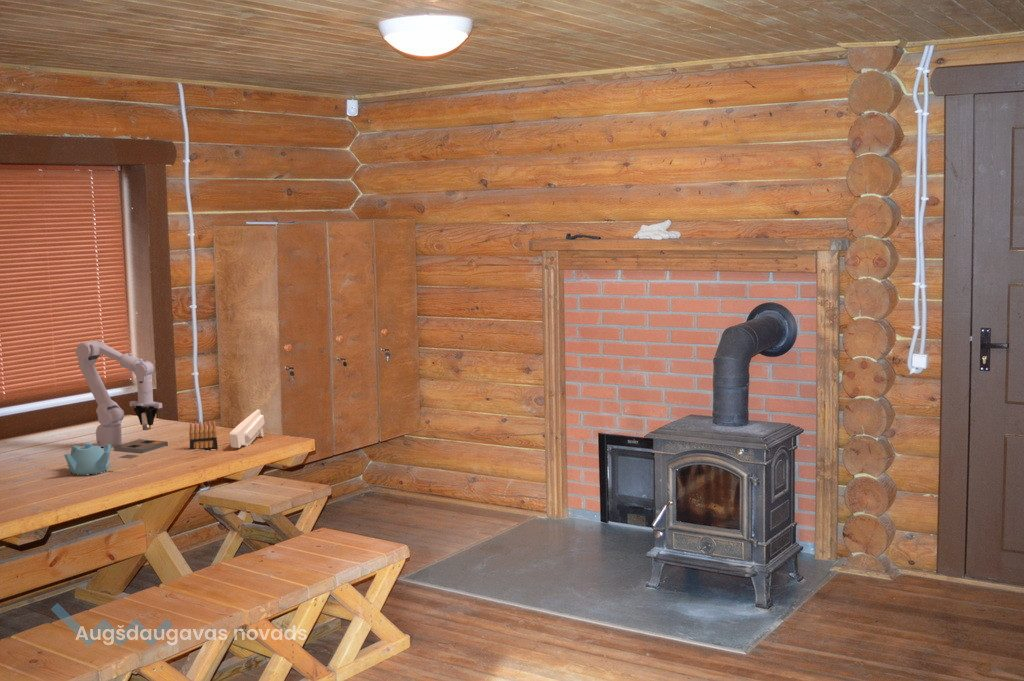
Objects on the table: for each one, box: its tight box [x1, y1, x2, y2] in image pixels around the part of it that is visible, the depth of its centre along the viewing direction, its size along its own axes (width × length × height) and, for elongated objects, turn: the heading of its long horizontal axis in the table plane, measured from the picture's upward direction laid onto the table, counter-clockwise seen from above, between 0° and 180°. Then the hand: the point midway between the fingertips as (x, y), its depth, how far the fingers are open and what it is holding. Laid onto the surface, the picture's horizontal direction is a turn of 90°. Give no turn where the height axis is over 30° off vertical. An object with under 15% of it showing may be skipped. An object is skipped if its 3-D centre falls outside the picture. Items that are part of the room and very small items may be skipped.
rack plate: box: [113, 438, 169, 454], centre depth 421 cm, size 14×15×3 cm
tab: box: [118, 454, 139, 459], centre depth 406 cm, size 6×5×1 cm
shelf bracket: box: [228, 409, 266, 449], centre depth 431 cm, size 6×25×13 cm, turn 169°
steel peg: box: [141, 411, 152, 431], centre depth 423 cm, size 3×3×7 cm
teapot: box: [63, 442, 112, 476], centre depth 386 cm, size 15×15×11 cm
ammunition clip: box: [189, 420, 218, 451], centre depth 419 cm, size 11×2×12 cm, turn 112°
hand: (146, 424), depth 423 cm, fingers closed on steel peg, 3 cm apart
